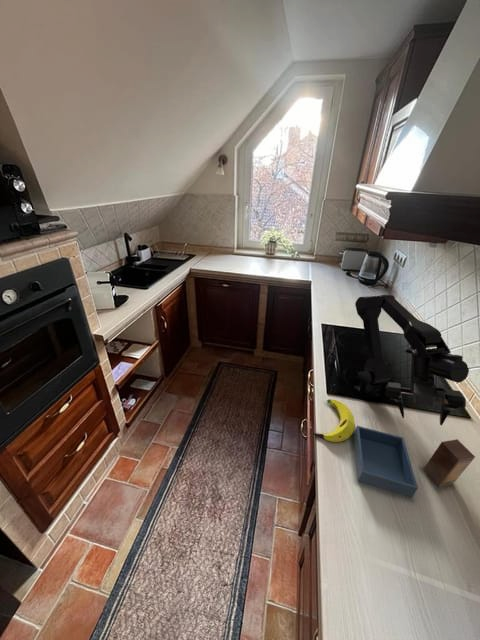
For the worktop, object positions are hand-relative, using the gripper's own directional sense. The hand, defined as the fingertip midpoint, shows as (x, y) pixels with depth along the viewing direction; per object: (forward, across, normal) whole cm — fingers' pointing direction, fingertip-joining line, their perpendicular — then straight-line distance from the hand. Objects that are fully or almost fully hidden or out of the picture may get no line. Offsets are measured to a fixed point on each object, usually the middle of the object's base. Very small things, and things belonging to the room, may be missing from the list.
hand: (421, 421), depth 76 cm
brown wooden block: (+14, +4, -5) cm, 15 cm away
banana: (+5, -26, -4) cm, 26 cm away
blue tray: (+11, -11, -10) cm, 18 cm away
